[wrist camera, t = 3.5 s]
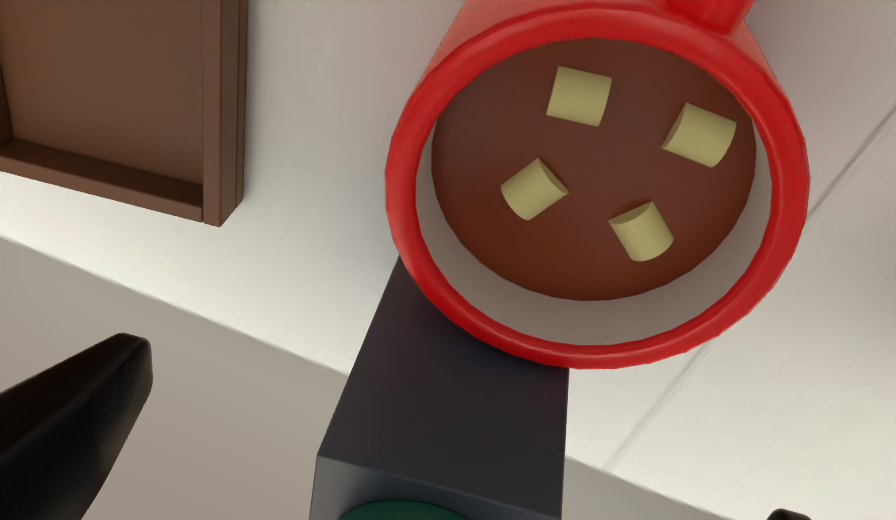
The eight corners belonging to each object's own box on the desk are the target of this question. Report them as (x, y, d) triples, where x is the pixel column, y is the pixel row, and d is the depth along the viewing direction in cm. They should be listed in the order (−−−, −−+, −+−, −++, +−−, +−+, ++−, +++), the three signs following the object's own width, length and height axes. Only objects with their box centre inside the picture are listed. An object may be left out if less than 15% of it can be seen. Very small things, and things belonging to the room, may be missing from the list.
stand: (578, 206, 23) (562, 519, 13) (540, 318, 25) (504, 645, 16) (433, 170, 23) (316, 454, 13) (411, 285, 25) (299, 590, 16)
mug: (918, -199, 16) (1135, -174, 9) (654, 234, 23) (675, 420, 16) (578, -340, 15) (563, -416, 9) (415, 143, 22) (340, 295, 16)
